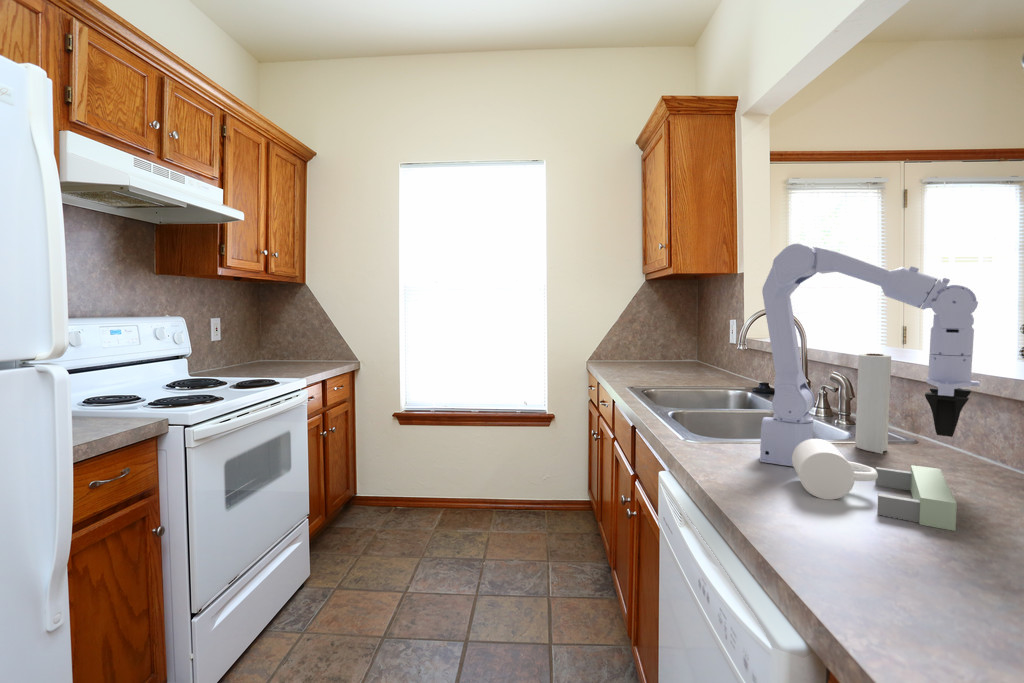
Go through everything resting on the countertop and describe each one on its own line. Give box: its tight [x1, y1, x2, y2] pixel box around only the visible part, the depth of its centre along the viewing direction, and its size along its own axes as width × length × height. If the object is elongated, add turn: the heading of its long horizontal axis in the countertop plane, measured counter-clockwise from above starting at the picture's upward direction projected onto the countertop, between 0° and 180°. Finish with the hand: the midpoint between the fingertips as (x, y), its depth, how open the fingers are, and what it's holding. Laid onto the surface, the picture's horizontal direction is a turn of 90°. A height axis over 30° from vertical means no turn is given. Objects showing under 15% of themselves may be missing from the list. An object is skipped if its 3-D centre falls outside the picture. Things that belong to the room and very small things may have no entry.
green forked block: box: [875, 464, 958, 532], centre depth 83 cm, size 9×19×4 cm, turn 146°
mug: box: [792, 438, 878, 501], centre depth 89 cm, size 12×10×8 cm
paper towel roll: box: [854, 353, 892, 455], centre depth 115 cm, size 7×6×21 cm
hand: (946, 431), depth 91 cm, fingers open, 7 cm apart
